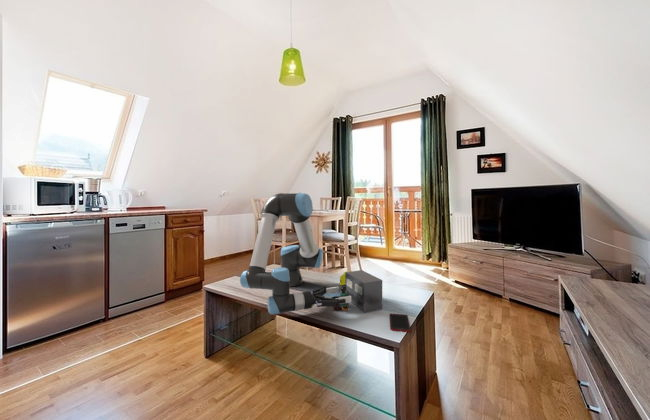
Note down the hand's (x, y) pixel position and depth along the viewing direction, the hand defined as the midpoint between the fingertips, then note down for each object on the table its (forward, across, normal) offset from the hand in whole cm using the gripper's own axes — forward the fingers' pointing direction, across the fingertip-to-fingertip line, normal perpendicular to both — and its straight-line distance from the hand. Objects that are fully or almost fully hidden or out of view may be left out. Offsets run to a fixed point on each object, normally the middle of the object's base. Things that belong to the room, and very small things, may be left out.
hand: (344, 293), depth 126 cm
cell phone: (+14, +24, -7) cm, 28 cm away
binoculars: (-3, 0, -7) cm, 7 cm away
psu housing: (+10, 0, -6) cm, 12 cm away
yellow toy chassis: (+18, -24, -7) cm, 31 cm away
